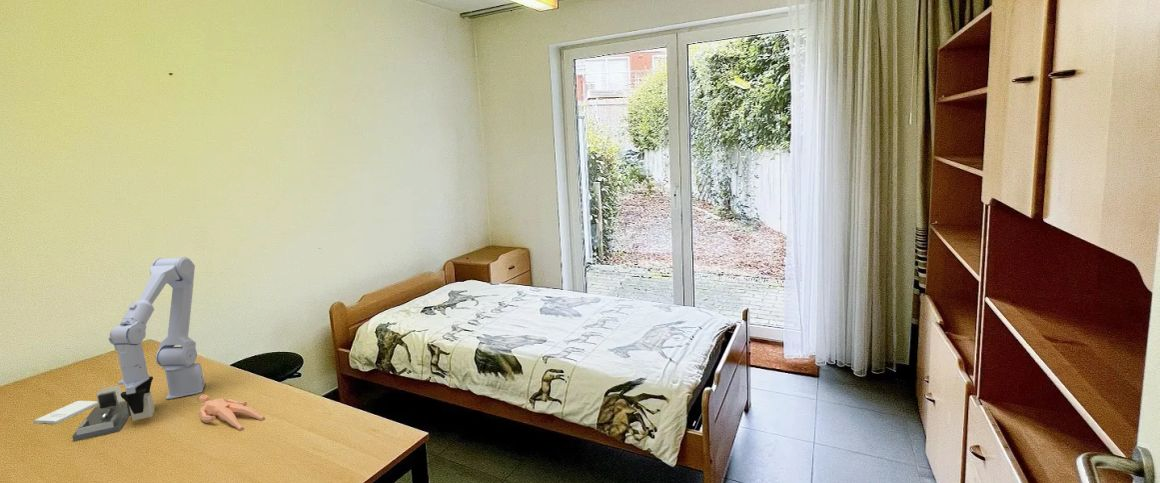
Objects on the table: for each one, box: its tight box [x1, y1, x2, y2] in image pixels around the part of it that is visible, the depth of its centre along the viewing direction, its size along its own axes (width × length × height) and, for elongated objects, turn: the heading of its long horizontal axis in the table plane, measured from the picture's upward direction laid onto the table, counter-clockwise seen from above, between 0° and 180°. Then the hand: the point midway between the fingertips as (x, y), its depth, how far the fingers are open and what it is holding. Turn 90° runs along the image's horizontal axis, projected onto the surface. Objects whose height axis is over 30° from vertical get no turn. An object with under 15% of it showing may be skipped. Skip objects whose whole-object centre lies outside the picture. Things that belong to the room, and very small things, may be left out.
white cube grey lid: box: [126, 391, 155, 422], centre depth 163 cm, size 5×4×6 cm
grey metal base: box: [71, 384, 130, 442], centre depth 161 cm, size 10×20×8 cm, turn 27°
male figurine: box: [198, 393, 266, 431], centre depth 161 cm, size 11×5×25 cm
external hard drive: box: [32, 400, 99, 425], centre depth 168 cm, size 2×8×12 cm
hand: (141, 407), depth 164 cm, fingers open, 7 cm apart
